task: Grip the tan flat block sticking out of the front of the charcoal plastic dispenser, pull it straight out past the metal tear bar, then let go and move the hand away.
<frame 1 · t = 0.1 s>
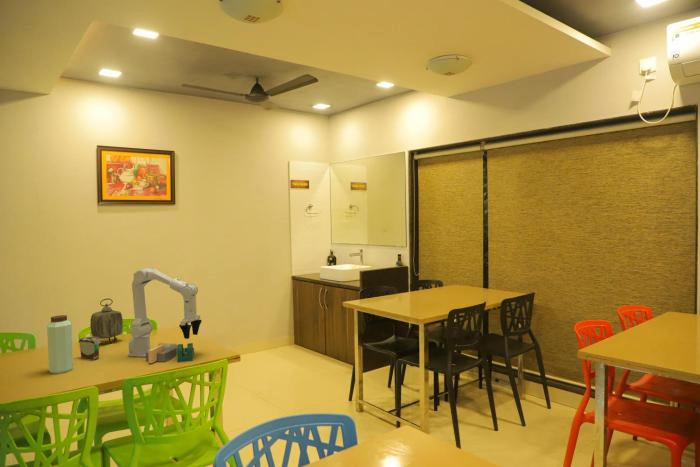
hand: (191, 336, 234), 10 cm above the table, tool pointing down, fingers open, 7 cm apart
tabletop clock: (108, 343, 264), on the table
food container: (93, 358, 236), on the table
water bottle: (61, 371, 217), on the table
dispenser: (162, 357, 233), on the table
bracket: (186, 357, 235), on the table
tan flat block: (156, 353, 228), point 3 cm above the table, slide at 0.0 cm
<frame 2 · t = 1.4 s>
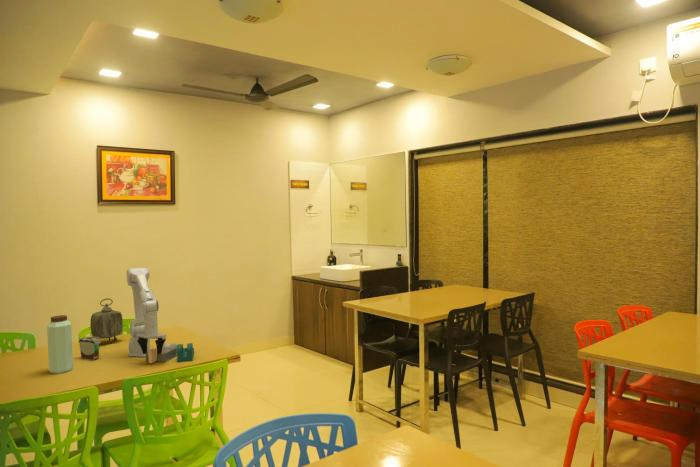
hand: (152, 353, 225), 5 cm above the table, tool pointing down, fingers open, 7 cm apart
nothing on the table moved.
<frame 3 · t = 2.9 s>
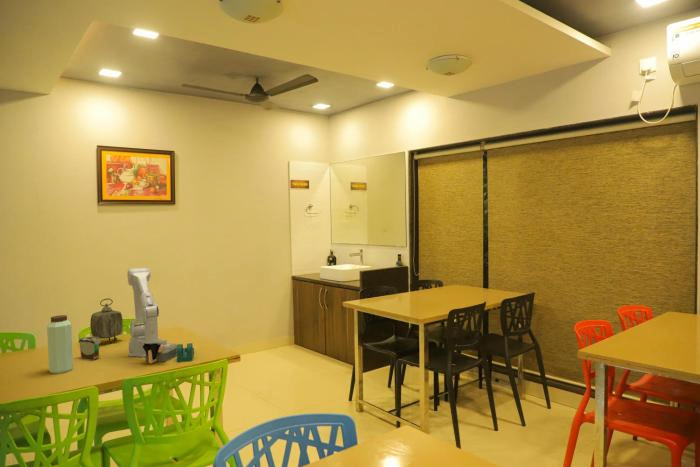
hand: (152, 359, 225), 2 cm above the table, tool pointing down, fingers closed on tan flat block, 2 cm apart
tan flat block: (156, 353, 228), point 4 cm above the table, slide at 0.0 cm, touching gripper
everything else where it was.
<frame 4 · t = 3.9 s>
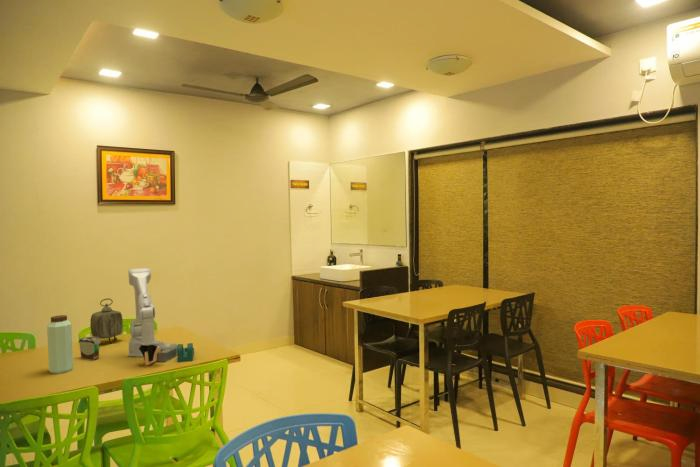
hand: (148, 360, 222), 2 cm above the table, tool pointing down, fingers closed on tan flat block, 2 cm apart
tan flat block: (153, 355, 225), point 3 cm above the table, slide at 2.7 cm, touching gripper
everything else where it was.
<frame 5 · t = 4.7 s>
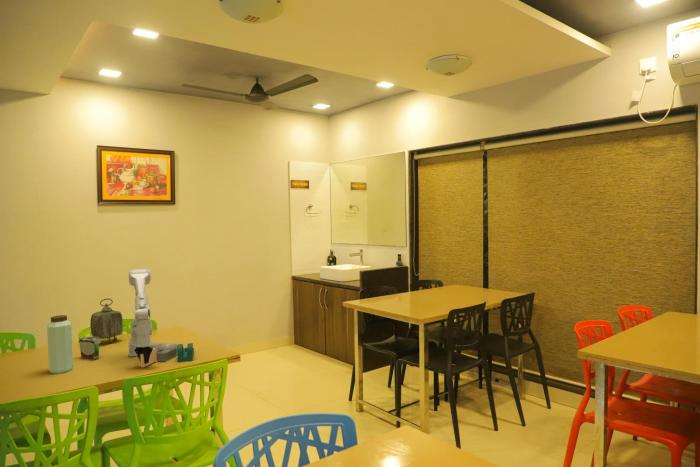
hand: (144, 363, 219), 2 cm above the table, tool pointing down, fingers closed on tan flat block, 2 cm apart
tan flat block: (148, 357, 222), point 3 cm above the table, slide at 6.0 cm, touching gripper
everything else where it was.
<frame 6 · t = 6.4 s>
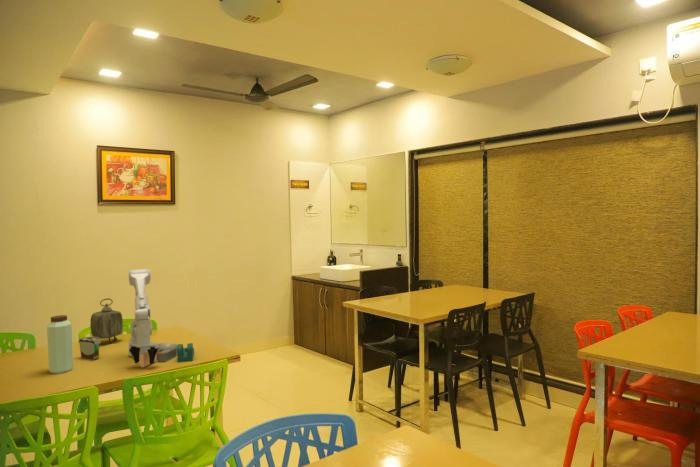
hand: (144, 363, 219), 2 cm above the table, tool pointing down, fingers open, 7 cm apart
tan flat block: (148, 357, 222), point 3 cm above the table, slide at 6.0 cm
everything else where it was.
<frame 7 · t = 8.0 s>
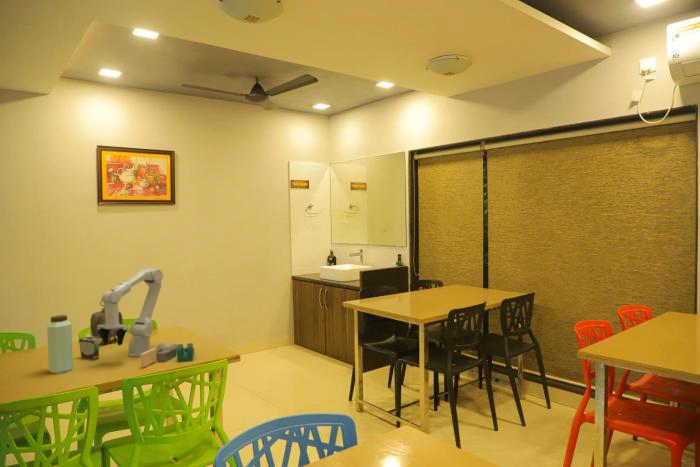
hand: (113, 344, 224), 9 cm above the table, tool pointing down, fingers open, 7 cm apart
nothing on the table moved.
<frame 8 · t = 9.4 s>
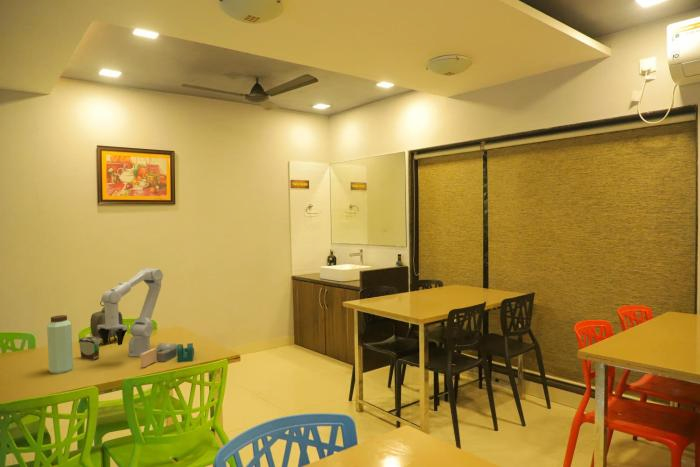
hand: (113, 344, 224), 9 cm above the table, tool pointing down, fingers open, 7 cm apart
nothing on the table moved.
at the end: tan flat block slide at 6.0 cm; the gripper is holding nothing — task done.
